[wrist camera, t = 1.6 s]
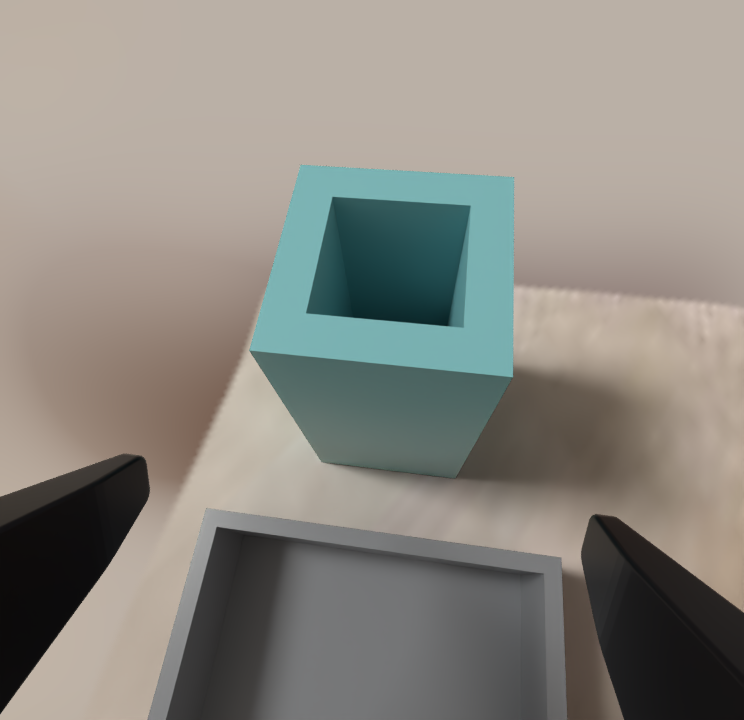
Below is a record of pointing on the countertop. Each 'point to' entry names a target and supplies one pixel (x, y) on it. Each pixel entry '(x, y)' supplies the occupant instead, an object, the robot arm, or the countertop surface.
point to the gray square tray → (361, 628)
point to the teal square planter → (391, 314)
